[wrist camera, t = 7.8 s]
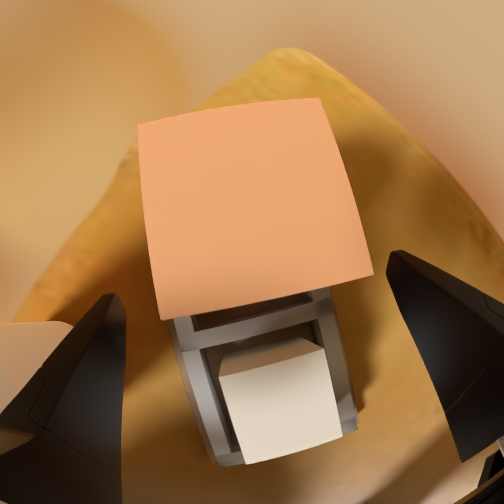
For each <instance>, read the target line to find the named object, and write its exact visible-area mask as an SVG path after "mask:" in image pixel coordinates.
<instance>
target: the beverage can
mask: <svg viewBox="0 0 504 504" xmlns="http://www.w3.org/2000/svg"><path fill="white" fill-rule="evenodd" d="M72 328H73V326H72V325H70V324H67V323H64V322H60V321H44V322H27V323H6V324H0V413H1V412H2V411H3V410H4V409H5V407H6V406H7V405H8V404H9V403H10V402H11V401H12V400H13V398H14V397H15V396H16V395H17V394H18V393H19V392H20V391H21V389H22V388H23V387H24V386H25V385H26V384H27V382H28V381H29V380H30V379H31V377H32V376H33V375H34V374H35V373H36V371H37V370H38V369H39V368H40V367H42V364H43V363H44V361H45V360H46V359H47V358H48V357H49V355H50V354H51V353H52V352H53V351H54V349H55V348H56V347H57V346H58V345H59V343H60V342H61V341H62V340H63V339H64V338H65V336H66V335H67V334H68V333H69V332H70V331H71V329H72Z"/></svg>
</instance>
